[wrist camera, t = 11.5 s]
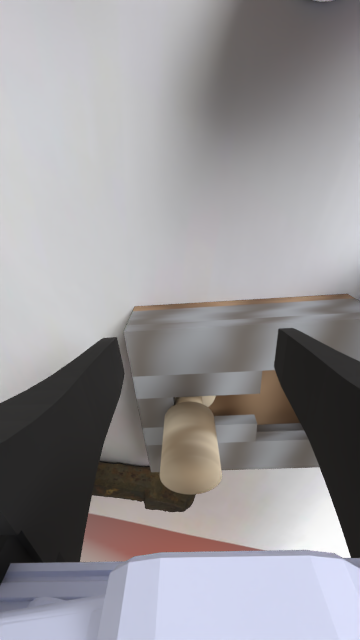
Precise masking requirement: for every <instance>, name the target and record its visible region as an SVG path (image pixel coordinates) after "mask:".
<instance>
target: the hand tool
mask: <svg viewBox="0 0 360 640" xmlns="http://www.w3.org/2000/svg"><path fill="white" fill-rule="evenodd" d="M92 495H95V496H104V497H114V498H123V499H130V500H137V501H140V502H142V501H144V503H145V508H146V509H150V510H163V511H168V512H184V511H185V510H186V509H188V508H189V507H190V506H191V505H192V503H193V501H194V498H195V495H196V494H181V493H177V492H174V491H172V490H170V489H168V488H167V487H166V486H165V485H164V484H163V483H162V482H161V480H160V472H151V470H150V467H140V466H131V465H123V464H120V463H119V464H111V463H105V462H99V464H98V468H97V473H96V478H95V482H94V487H93V492H92Z"/></svg>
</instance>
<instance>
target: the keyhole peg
mask: <svg viewBox="0 0 360 640" xmlns="http://www.w3.org/2000/svg"><path fill="white" fill-rule="evenodd" d="M215 397H216V396H194V397H174V398H175V405H174V406H172V407H171V408H169V410H168V411H167V412H166V414H165V418H164V430H163V442H162V454H161V466H160V480H161V482H162V483H163V484H164V485H165V486H166V487H167V488H168V489H170V490H172V491H174V492H177V493H181V494H201V493H205V492H208V491H210V490H212V489H213V488H215V487H216V486H217V485H218V484H219V483H220V481H221V479H222V471H221V464H220V456H219V449H218V442H217V435H216V427H215V420H214V415H213V413H212V411H211V410H210V409H209V408H208V407H209V406H210V405H211V404H212V403H213V401H214V400H215Z"/></svg>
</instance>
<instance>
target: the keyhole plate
mask: <svg viewBox="0 0 360 640" xmlns="http://www.w3.org/2000/svg"><path fill="white" fill-rule="evenodd" d="M279 328H294V329H297V330H299V331H301V332H303V333H305V334H307V335H309V336H310V337H312V338H314V339H316V340H318V341H320V342H322V343H323V344H325V345H327V346H329V347H331V348H333V349H335V350H337V351H339V352H341V353H343V354H345V355H347V356H349V357H351V358H354V359H356V360H358V361H360V301H359V300H357V299H355V298H354V297H352V296H350V295H349V294H338V295H321V296H304V297H287V298H270V299H253V300H236V301H220V302H203V303H186V304H169V305H152V306H135V307H134V309H133V312H132V314H131V316H130V318H129V321H128V323H127V325H126V328H125V330H124V337H125V342H126V347H127V352H128V357H129V362H130V368H131V373H132V378H133V383H134V388H135V393H136V398H137V403H138V408H139V413H140V419H141V424H142V429H143V434H144V439H145V444H146V449H147V454H148V459H149V465H150V470H151V472H160V466H161V454H162V442H163V430H164V418H165V414H166V412H167V411H168V410H169V408H171V407H172V406H174V405H175V398H174V397H194V396H216V397H215V400H214V401H213V403H212V404H211V405H210V406H209V407H208V408H209V409H210V410H211V411H212V413H213V415H214V420H215V427H216V435H217V442H218V449H219V456H220V464H221V470H243V469H276V468H308V467H319V464H318V462H317V459H316V457H315V454H314V452H313V449H312V447H311V444H310V442H309V440H308V437H307V435H306V433H305V431H304V429H303V427H302V425H301V423H300V422H299V420H298V418H297V416H296V414H295V412H294V410H293V408H292V407H291V405H290V403H289V401H288V399H287V397H286V395H285V393H284V391H283V389H282V387H281V385H280V383H279V380H278V377H277V374H276V371H275V368H274V361H275V353H276V345H277V336H278V329H279Z"/></svg>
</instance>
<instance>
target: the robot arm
mask: <svg viewBox="0 0 360 640" xmlns="http://www.w3.org/2000/svg"><path fill="white" fill-rule="evenodd" d="M274 368H275V371H276V374H277V377H278V380H279V383H280V385H281V387H282V389H283V391H284V393H285V395H286V397H287V399H288V401H289V403H290V405H291V407H292V408H293V410H294V412H295V414H296V416H297V418H298V420H299V422H300V423H301V425H302V427H303V429H304V431H305V433H306V435H307V437H308V440H309V442H310V444H311V447H312V449H313V452H314V454H315V457H316V459H317V462H318V464H319V467H320V469H321V472H322V475H323V477H324V480H325V482H326V485H327V488H328V490H329V493H330V496H331V499H332V502H333V505H334V507H335V510H336V513H337V516H338V519H339V522H340V525H341V528H342V531H343V534H344V537H345V540H346V543H347V546H348V549H349V553H350V556H351V558H342V557H340V556H338V555H336V554H335V553H327V552H318V551H310V550H279V551H225V552H224V551H222V552H221V551H220V552H162V553H155V554H148V555H142V556H135V557H133V558H131V559H129V560H127V561H125V562H80V557H81V551H82V545H83V539H84V533H85V528H86V522H87V517H88V512H89V507H90V501H91V496H92V492H93V487H94V482H95V478H96V473H97V468H98V464H99V460H100V456H101V451H102V447H103V444H104V441H105V437H106V435H107V432H108V429H109V426H110V423H111V420H112V417H113V414H114V412H115V409H116V406H117V403H118V400H119V397H120V394H121V389H122V385H123V379H124V369H123V364H122V359H121V355H120V350H119V345H118V341H117V337H113V338H103V339H101V340H100V341H98V342H97V343H95V344H94V345H93V346H91V347H90V348H89V349H88V350H86V351H85V352H84V353H82V354H81V355H80V356H78V357H77V358H76V359H74V360H73V361H72V362H70V363H69V364H67V365H66V366H64V367H63V368H61V369H60V370H59V371H57V372H56V373H54V374H53V375H51V376H50V377H48V378H47V379H45V380H43V381H42V382H40V383H38V384H36V385H35V386H33V387H31V388H30V389H28V390H26V391H24V392H22V393H20V394H18V395H16V396H14V397H12V398H10V399H8V400H6V401H4V402H2V403H0V640H360V361H358V360H356V359H354V358H351V357H349V356H347V355H345V354H343V353H341V352H339V351H337V350H335V349H333V348H331V347H329V346H327V345H325V344H323V343H322V342H320V341H318V340H316V339H314V338H312V337H310V336H309V335H307V334H305V333H303V332H301V331H299V330H297V329H294V328H279V329H278V336H277V345H276V353H275V361H274Z"/></svg>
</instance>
